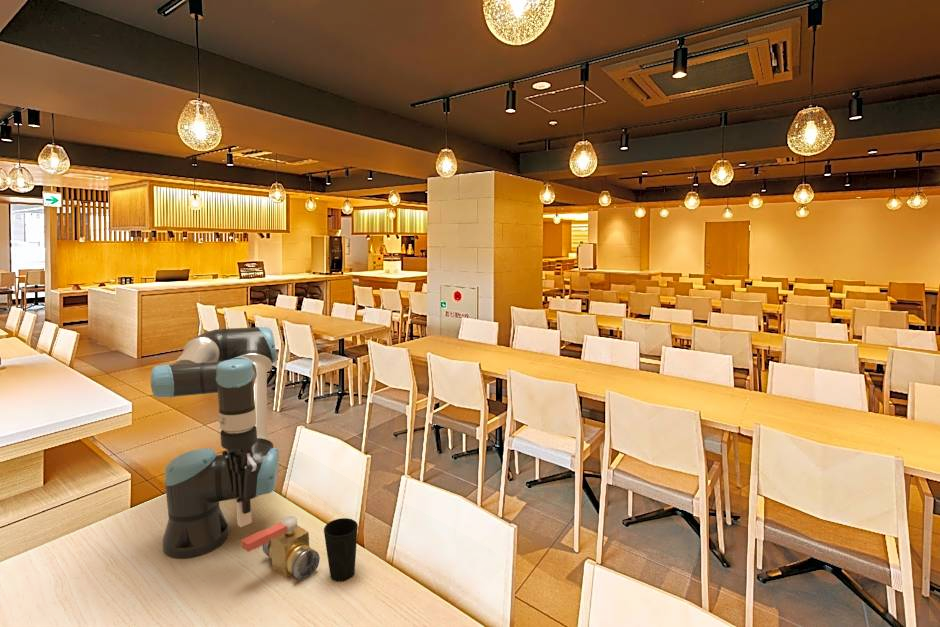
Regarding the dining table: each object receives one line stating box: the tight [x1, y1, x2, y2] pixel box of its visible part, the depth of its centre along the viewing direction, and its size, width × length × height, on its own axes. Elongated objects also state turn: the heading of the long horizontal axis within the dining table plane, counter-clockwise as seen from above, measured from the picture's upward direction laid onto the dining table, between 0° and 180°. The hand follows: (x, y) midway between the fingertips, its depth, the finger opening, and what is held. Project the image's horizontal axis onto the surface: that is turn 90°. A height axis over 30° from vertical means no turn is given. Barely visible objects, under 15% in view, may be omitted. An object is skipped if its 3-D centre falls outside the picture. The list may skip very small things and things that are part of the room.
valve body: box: [262, 524, 321, 581], centre depth 123 cm, size 14×7×10 cm, turn 51°
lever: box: [240, 515, 298, 553], centre depth 119 cm, size 13×4×2 cm, turn 141°
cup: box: [323, 517, 359, 583], centre depth 120 cm, size 8×8×12 cm
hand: (244, 523), depth 120 cm, fingers closed
